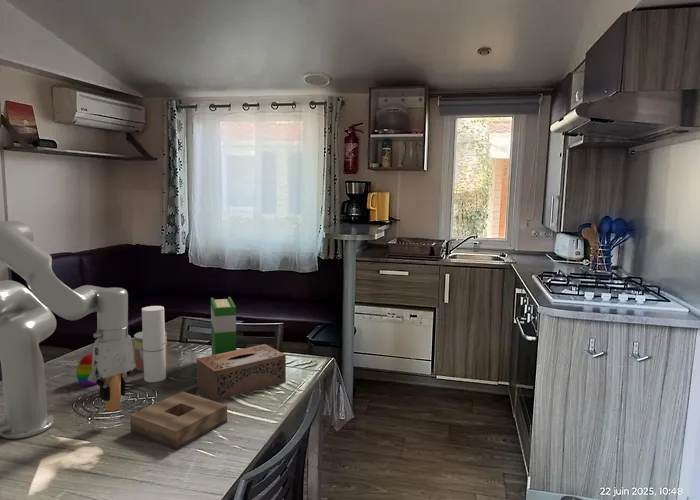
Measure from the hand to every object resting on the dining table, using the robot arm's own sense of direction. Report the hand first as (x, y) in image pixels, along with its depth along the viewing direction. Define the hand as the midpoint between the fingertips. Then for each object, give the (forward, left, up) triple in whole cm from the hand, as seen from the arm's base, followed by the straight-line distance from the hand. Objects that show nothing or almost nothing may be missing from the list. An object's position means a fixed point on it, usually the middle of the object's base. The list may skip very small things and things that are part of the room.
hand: (112, 396), depth 136 cm
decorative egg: (+15, +33, -8) cm, 37 cm away
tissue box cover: (+41, -11, -9) cm, 43 cm away
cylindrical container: (+29, +18, -8) cm, 35 cm away
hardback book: (+52, +8, -8) cm, 53 cm away
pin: (0, 0, -3) cm, 3 cm away
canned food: (+37, +30, -8) cm, 48 cm away
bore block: (+9, -17, -8) cm, 21 cm away
